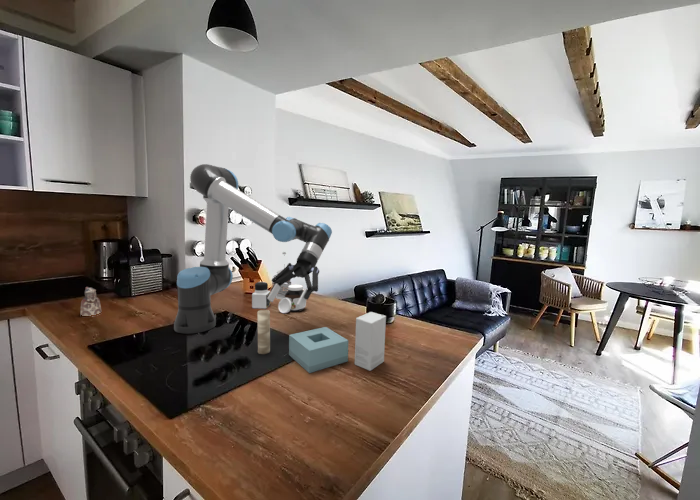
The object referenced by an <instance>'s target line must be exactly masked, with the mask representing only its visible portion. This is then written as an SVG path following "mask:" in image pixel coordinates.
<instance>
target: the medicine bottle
mask: <svg viewBox="0 0 700 500" xmlns="http://www.w3.org/2000/svg"><path fill="white" fill-rule="evenodd" d="M268 286H269V285H268V282H266V281H256V282H255V284H254V292H253V293H252V294H251V308H252V309H263V310H267V309H268V307H269V306H270V305H271V301H270V300H269V299H268V296H269V294H270V293H271V290H269V288H268Z"/></svg>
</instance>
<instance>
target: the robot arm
mask: <svg viewBox="0 0 700 500" xmlns="http://www.w3.org/2000/svg"><path fill="white" fill-rule="evenodd" d="M190 173H191V174H190V176H189V177H190V179H189V180H190V184H191V186H192V188H193V189H194V191H195V190H196V192H198V193H199V194H200V195H202V199H203V200H204V201H205V202H206V212H205V213H206V215H205V217H206V218H205V234H204V253H203V259H201V261H200V262H199V266H192V267H188V268H185V269H181V270H180V271H179V272H178V274H177V275H176V276H177V277H176V279H177V280H176V286H177V305H178V306H177V307H178V309H177V314H176V316H175V319H174V322H173V330H174V332H175V333H179V334H184V335H185V334H187V335H188V334H190V335H191V334H199V333H203V332H207V331H209V330H212V329H213V328H215V326H216V325H217V324H216V323H217V319H216V316H215V314H214V312H213V309H212V305H211V296H213V295H215V294H217V293H220V292H221V293H222V292H223V291H225V290H226V289H227V288H229V287H230V285H231V284H232V281H233V277H234V276H233V271H232V270H231V268H230V266H229V265H230V263H229V261H228V260H227V259H226V258H227V257H226V256H227V254H226V253H227V240H228V239H227V237H228V222H229V209H230V210H232V211H234V212H235V213H237V214H239V215H241V216H242V217H244V218H245V219H247V220H249V221H251V222H252V223H254V224H255V225H257V226H258V227H260V228H262V229H263V230H265V231H267V232H269V233H270V234H271V235H272V236H273V238H274V239H275V240H276V241H278V242H280V243H281V242H282V243H287V242H291V241H293V240H299V241H301V242H304V243H305V244H304V246H303V247H302V249H301V252H300V253H299V255H298V256H297V258H296V262H295V264H292V263H291V262H289V263H287V265H286V266H285V267H283V269H281V270H282V271H281V272H280V273H279V274H278V275H277V274H275V275H276V276H275V275H274V276H275V277H272V278H273V279H272V278H271V283H272V282H273V283H272V287H271V289H270V294H269V296H268V299H269V300H270V303H274V300H275V299H276V298H275V297H276V296H277V294H278V292H279V290H280V288H281V287H282V286H281V285H282V284H286V283H285V282H287V281H289V280H290V279H295V278H296V277H297V278H302V279H304V281H305V283H306V284H305V285H306V288H304V289H303V293H302V295H301V297H300V299H299V301H298V303H297V305H298V306H299V307H300V308H302V307H303V305H304V303H305V301H306V302H307V300H309V298H310V297H311V295H312V293H313V292H316V293H317V292H318V291H319V274H320V269H319V268H318V266H317V264H318V261H319V259H320V258H321V256H322V255H323V252H324V249H325V248H326V247H327V245H328V242H329V241H330V238H331V236H332V235H333V231H332V228H331V227H330V226H329V225H328V224H326V223H324V222H318V223H317V224H316V225H314V224H313V225H312V224H309V223H306V222H304V221H302V220H299V219H297V218H296V217H291V216H287V217H283V216H281V214H279V213H277V212H276V211H273V209H271V208H269V207H268V206H266V205H264V204H263V203H260V202H259V201H257V200H256V199H254V198H253V197H251V196H249V195H248V194H246V193H244V192H243V191H241V190H240V189H239V181H238V178H237V176H236V175H235V173H234V172H232V171H231V170H230V169H227V168H224V167H220V166H215V165H212V164H209V163H205V164H199V165H197V166H196V167H194V168H193V169H192V170H191V172H190ZM310 274H312V277H310ZM311 278H312V279H311ZM311 280H312V282H311ZM290 281H291V280H290ZM279 282H280V283H279ZM280 286H281V287H280Z"/></svg>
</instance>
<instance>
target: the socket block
mask: <svg viewBox="0 0 700 500" xmlns="http://www.w3.org/2000/svg"><path fill="white" fill-rule="evenodd" d="M288 336H289V337H288V349H289V351H288V355H289V356H290V358H291V359H293V360H294V361H295V362H296V363H297V364H298V365H300V366H301V368H303V369H304V370H305V371H306V372H308V374H311V373H315V372H319V371H321V370H324V369H327V368H330V367H331V368H332V367H333V366H337V365H340V364H344V363H346V362H349V339H347V338H345V337H343V336H341V335H340V334H338V333H337V332H335V331H333V330H332V329H330V328H329V327H327V326H323V327H319V328H318V327H317V328H314V329H311V330H310V329H309V330H306V331H301V332H296V333H290V334H288Z"/></svg>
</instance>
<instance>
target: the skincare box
mask: <svg viewBox="0 0 700 500" xmlns="http://www.w3.org/2000/svg"><path fill="white" fill-rule="evenodd" d="M386 321H387V315H384V314H380V313H377V312H373V311H369V312H367V313H365V314H363V315H360V316H358V317H356V318H355V343H354V345H355V346H354V365H355V366H357V367H360V368H362V369H364V370H367V371H373V370H374V369H375V368H377V367H378V366H380V365H381V364H383V362H385V344H386V343H385V342H386V328H387V326H386V325H387V324H386V323H387V322H386Z"/></svg>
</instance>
